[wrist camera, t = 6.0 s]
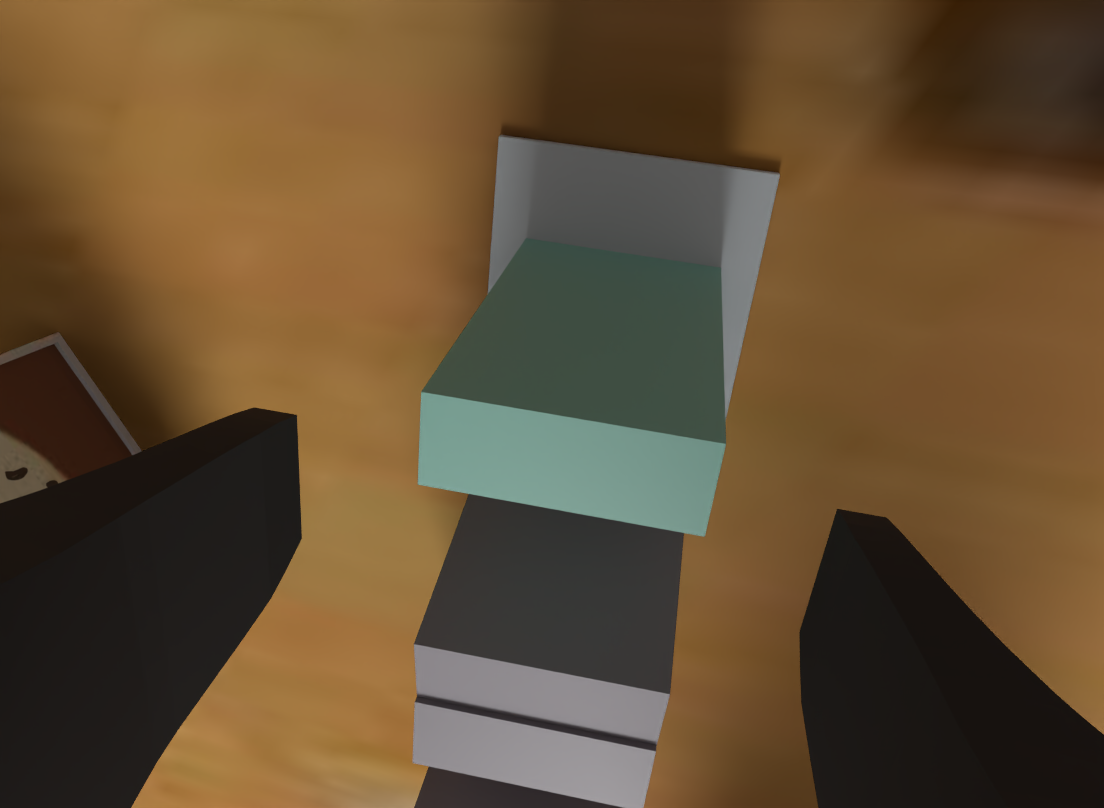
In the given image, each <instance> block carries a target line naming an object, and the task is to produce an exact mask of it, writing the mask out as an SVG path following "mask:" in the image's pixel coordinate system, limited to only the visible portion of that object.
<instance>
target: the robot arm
mask: <svg viewBox="0 0 1104 808" xmlns="http://www.w3.org/2000/svg"><path fill="white" fill-rule="evenodd" d="M301 539H302V534H301V508H300V483H299V458H298V433H297V415H294V414H288V413H282V412H277V411H271V410H265V409H259V408H251V409H248V410H245V411H241V412H238V413H235V414H233V415H230V416H227V417H225V418H222V419H219V420H217V421H214V422H212V423H209V424H207V425H205V426H202V427H200V428H197V429H195V430H192V431H190V432H188V433H185V434H183V435H180V436H178V437H176V438H173V439H171V440H168V441H166V442H163V443H161V444H159V445H156V446H154V447H151V448H149V449H146V450H144V451H142V452H139V453H137V454H134V455H132V456H130V457H127V458H125V459H122V460H120V461H117V462H115V463H112V464H109V465H107V466H104V467H101V468H99V469H96V470H93V471H90V472H88V473H85V474H82V475H80V476H77V477H74V478H72V479H69V480H66V481H64V482H61V483H58V484H56V485H53V486H50V487H48V488H45V489H42V490H39V491H36V492H33V493H30V494H27V495H25V496H22V497H18V498H15V499H12V500H9V501H6V502H3V503H0V808H131V807H132V805H133V803H134V801H135V800H136V798H137V796H138V794H139V793H140V791H141V789H142V787H143V786H144V784H145V782H146V780H147V779H148V777H149V775H150V773H151V772H152V770H153V768H154V766H155V765H156V763H157V761H158V760H159V758H160V757H161V755H162V753H163V752H164V750H165V749H166V747H167V746H168V744H169V743H170V741H171V740H172V738H173V737H174V735H175V734H176V732H177V730H178V729H179V728H180V726H181V725H182V723H183V722H184V721H185V719H186V718H187V716H188V715H189V714H190V712H191V711H192V709H193V708H194V707H195V705H196V704H197V702H198V701H199V700H200V698H201V697H202V695H203V694H204V693H205V691H206V690H207V688H208V687H209V686H210V684H211V683H212V681H213V680H214V679H215V677H216V676H217V674H218V673H219V672H220V670H221V669H222V667H223V666H224V665H225V663H226V662H227V660H228V659H229V658H230V656H231V655H232V654H233V652H234V651H235V649H236V648H237V647H238V645H239V644H240V642H241V641H242V639H243V638H244V637H245V635H246V634H247V632H248V631H249V629H250V628H251V627H252V625H253V624H254V622H255V621H256V619H257V618H258V617H259V615H260V614H261V612H262V611H263V609H264V608H265V606H266V605H267V603H268V602H269V601H270V599H271V597H272V595H273V594H274V592H275V590H276V588H277V586H278V584H279V582H280V581H281V579H282V577H283V575H284V573H285V571H286V569H287V567H288V565H289V563H290V561H291V559H292V557H293V555H294V553H295V551H296V549H297V547H298V545H299V543H300V541H301ZM800 677H801V702H802V709H803V716H804V723H805V729H806V735H807V741H808V747H809V754H810V760H811V766H812V772H813V778H814V784H815V790H816V796H817V801H818V807H819V808H1104V735H1103V734H1102V733H1101V732H1100V731H1098V730H1097V729H1096V728H1095V727H1094V726H1092V725H1091V724H1090V723H1089V722H1088V721H1086V720H1085V719H1084V718H1083V717H1082V716H1080V715H1079V714H1078V713H1077V712H1076V711H1075V710H1073V709H1072V708H1071V707H1070V706H1069V705H1068V704H1067V703H1066V702H1064V701H1063V700H1062V699H1061V698H1060V697H1059V696H1058V695H1057V694H1055V693H1054V692H1053V691H1052V690H1051V689H1050V688H1049V687H1048V686H1047V685H1046V684H1045V683H1044V682H1043V681H1042V680H1041V679H1040V678H1038V677H1037V676H1036V675H1035V674H1034V673H1033V672H1032V671H1031V670H1030V669H1029V668H1028V667H1027V666H1026V665H1025V664H1024V663H1023V662H1022V661H1021V660H1020V659H1019V658H1018V657H1017V656H1015V655H1014V654H1013V653H1012V652H1011V651H1010V650H1009V649H1008V648H1007V647H1006V646H1005V645H1004V644H1003V643H1002V642H1001V641H1000V640H999V639H998V638H997V637H996V636H995V635H994V633H993V632H992V631H991V630H990V629H989V628H988V627H987V626H986V625H985V624H984V623H983V622H982V621H981V620H980V619H979V618H978V617H977V616H976V615H975V614H974V613H973V612H972V610H971V609H970V608H969V607H968V606H967V605H966V604H965V603H964V602H963V601H962V600H961V599H960V598H959V596H958V595H957V594H956V593H955V592H954V591H953V590H952V589H951V588H950V587H949V585H948V584H947V583H946V582H945V581H944V580H943V579H942V578H941V577H940V575H939V574H938V573H937V572H936V571H935V570H934V569H933V568H932V567H931V565H930V564H929V563H928V562H927V561H926V560H925V559H924V558H923V556H922V555H921V554H920V553H919V552H918V551H917V550H916V549H915V547H914V546H913V545H912V544H911V543H910V542H909V541H908V540H907V539H906V537H905V536H904V535H903V534H902V533H901V532H900V531H899V530H898V529H897V528H896V527H895V526H894V525H893V524H892V523H891V522H890V521H889V520H888V519H887V518H886V517H880V516H874V515H869V514H863V513H857V512H851V511H846V510H840V509H837V511H836V515H835V518H834V521H833V525H832V528H831V531H830V534H829V538H828V541H827V544H826V547H825V551H824V554H823V557H822V561H821V564H820V567H819V570H818V574H817V577H816V580H815V583H814V587H813V590H812V593H811V596H810V600H809V603H808V606H807V610H806V613H805V616H804V619H803V623H802V626H801V629H800Z"/></svg>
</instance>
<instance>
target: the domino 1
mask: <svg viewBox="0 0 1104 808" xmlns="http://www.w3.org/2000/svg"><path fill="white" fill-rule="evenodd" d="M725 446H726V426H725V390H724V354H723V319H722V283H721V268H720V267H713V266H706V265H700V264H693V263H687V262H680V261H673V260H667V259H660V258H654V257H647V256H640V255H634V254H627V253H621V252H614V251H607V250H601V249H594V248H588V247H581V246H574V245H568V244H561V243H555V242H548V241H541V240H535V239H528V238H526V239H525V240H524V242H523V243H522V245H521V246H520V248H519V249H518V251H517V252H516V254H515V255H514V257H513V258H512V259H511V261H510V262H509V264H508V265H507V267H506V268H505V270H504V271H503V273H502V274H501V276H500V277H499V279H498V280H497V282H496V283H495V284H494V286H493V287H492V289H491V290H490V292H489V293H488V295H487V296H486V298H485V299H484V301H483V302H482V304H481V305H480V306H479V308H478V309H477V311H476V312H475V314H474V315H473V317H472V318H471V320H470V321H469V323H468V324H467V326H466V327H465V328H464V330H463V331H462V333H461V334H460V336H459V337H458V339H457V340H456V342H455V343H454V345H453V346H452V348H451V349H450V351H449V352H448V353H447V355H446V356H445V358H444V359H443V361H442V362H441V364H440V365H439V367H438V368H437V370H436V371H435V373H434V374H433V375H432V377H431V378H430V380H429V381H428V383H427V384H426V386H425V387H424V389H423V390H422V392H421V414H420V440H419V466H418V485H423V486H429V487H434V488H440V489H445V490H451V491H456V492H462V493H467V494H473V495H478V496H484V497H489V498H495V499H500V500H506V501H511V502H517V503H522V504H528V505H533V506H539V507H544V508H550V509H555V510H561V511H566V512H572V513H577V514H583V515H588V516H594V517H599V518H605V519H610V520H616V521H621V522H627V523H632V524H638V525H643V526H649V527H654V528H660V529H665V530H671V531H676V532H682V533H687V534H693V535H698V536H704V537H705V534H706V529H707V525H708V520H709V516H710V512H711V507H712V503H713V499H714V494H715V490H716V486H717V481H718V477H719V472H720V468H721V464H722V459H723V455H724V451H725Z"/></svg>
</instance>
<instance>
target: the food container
mask: <svg viewBox="0 0 1104 808" xmlns="http://www.w3.org/2000/svg"><path fill="white" fill-rule="evenodd" d="M139 452H142V450H141V449H140V447H139V446H138V445H137V443H136V442H135V440H134V439H133V437H132V436H131V435H130V433H129V432H128V430H127V429H126V427H125V426H124V425H123V423H122V422H121V420H120V419H119V417H118V416H117V415H116V413H115V412H114V410H113V409H112V407H111V406H110V405H109V403H108V402H107V400H106V399H105V397H104V396H103V395H102V393H101V392H100V390H99V389H98V387H97V386H96V385H95V383H94V382H93V380H92V379H91V377H90V376H89V375H88V373H87V372H86V370H85V369H84V367H83V366H82V365H81V363H80V362H79V360H78V359H77V357H76V356H75V355H74V353H73V352H72V350H71V349H70V347H69V346H68V345H67V343H66V342H65V340H64V339H63V337H62V336H61V335H60V333H59V332H57V333H54V334H52V335H49V336H46V337H44V338H41V339H39V340H36V341H33V342H31V343H28V344H26V345H23V346H21V347H18V348H15V349H13V350H10V351H8V352H5V353H2V354H0V503H3V502H6V501H9V500H12V499H15V498H18V497H22V496H25V495H27V494H30V493H33V492H36V491H39V490H42V489H45V488H48V487H50V486H53V485H56V484H58V483H61V482H64V481H66V480H69V479H72V478H74V477H77V476H80V475H82V474H85V473H88V472H90V471H93V470H96V469H99V468H101V467H104V466H107V465H109V464H112V463H115V462H117V461H120V460H122V459H125V458H127V457H130V456H132V455H134V454H137V453H139Z"/></svg>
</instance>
